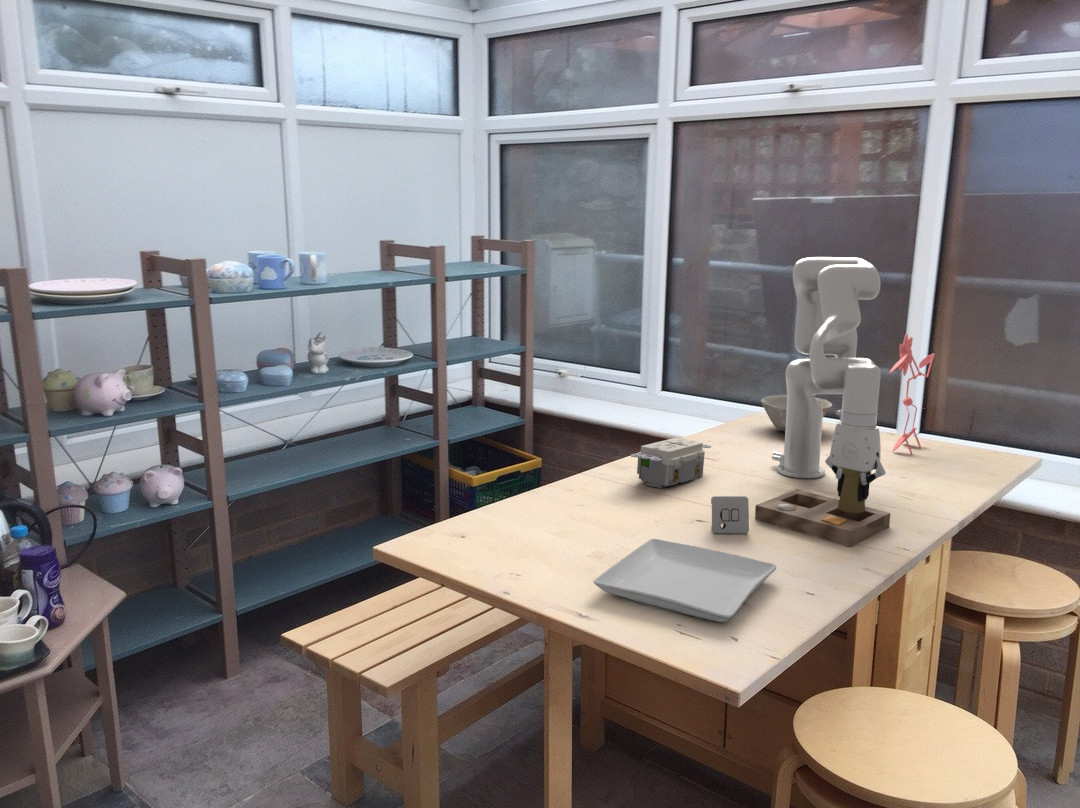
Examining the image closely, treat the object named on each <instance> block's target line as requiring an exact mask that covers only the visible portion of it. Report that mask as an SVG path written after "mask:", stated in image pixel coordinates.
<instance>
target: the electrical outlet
mask: <svg viewBox="0 0 1080 808" xmlns="http://www.w3.org/2000/svg"><path fill="white" fill-rule="evenodd" d="M710 448H712V446H711V445H710V444H704V443H703V442H700V441H695V440H689V439H685V438H679V437H672V438H669V439H665V440H661V441H656V442H653V443H649V444H644V445H641V446H640V451H639V452H638V453H631V454H630V455H629V456H630V457H631V458H637V464H636V465H637V467H636V469H637V471H636V474H637V475H638V480H640V481H642V482H645V483H646V485H647V486H649V487H654V488H658V489H662V488H667V487H669V486H673V485H677V484H679V483H685V482H688V481H692V480H695V479H696V478H698V477H703V476H704V465H705V464H704V463H705V450H704V449H710Z"/></svg>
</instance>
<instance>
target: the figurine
mask: <svg viewBox="0 0 1080 808" xmlns="http://www.w3.org/2000/svg"><path fill="white" fill-rule="evenodd" d="M903 338H904V339H903V343H899V352H898V353H899V360H898V361H897V362H896V363H895V364H894V365H893V366H892V367H891V369H890V371H889V372H888V373H889V374H891V373H893V372H894V371H895V370H897V369H898V370H899V372H901V371H902V375H903V376H906V375H907V372H908V370H909V369H910V370H911V374H912V377H910V378H908V380H907V381H906V394H905V395H906V396H905V397H904V398H903V400H902V403H903V405H904V406H905V408H906V411H907V419H906V422H905V427H904V430H903V434H902V435H901V436H900V437H899V438H898V439H897V441H896V443H895V444H894V446H893V448H892V452H895V451H896V450H897V449H899V447H900V446H901V445H902V444H903V443H906V446H907V448H908V450H909V451H908V452H910V453H909V454H910V455H913V451H912V449H911V445H910V444H909V441H908V439H910V437H911V436H912V435H913V434H914V435H913V436H914V437H915V440H916V443H917V445H918V447H919V448H922V445H921V442H920V441H919V438H918V436H917V433H916V430H917V427H915V421H916V417H917V411H918V407H917V406H916V405H915V404H913V399H912V398H911V397H909V388H910V387H909V386H910V381H911V380H916V379H917V378H918V377H919V376H923V377H926V378H929V375H930V372H931V368H932V365H933V361H934V359H935V356H936V354H935V353H931V354H928V355H927V356H926V357H924V358H922V360H920V362H919V363H918V365H917V362H916V361H915V359H914V356H913V351H912V346H913V337H912V336H910V337H909V334H908V333H906V334H905V335H904V337H903ZM912 363H913V364H914V366H915V369H916V371H917V374H915V371H914V369H913V365H912ZM927 365H928V369H927V373H926V374H924V373H923V372H921V371H920V369H922V368H924V367H925V366H927ZM910 406H912V407H914V408H915V411H914V415H913V423H912V428H911V430H910V431H909V432H908V433H907V432H906V431H907V426H908V422H909V420H910V411H909V408H908V407H910ZM923 443H924V444H930V443H929V442H925V441H924V442H923Z"/></svg>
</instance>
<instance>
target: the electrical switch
mask: <svg viewBox="0 0 1080 808" xmlns="http://www.w3.org/2000/svg"><path fill="white" fill-rule="evenodd" d="M710 504H711V527H710V529H711V533H713V534H748V533H749V531H750V521H749V519H750V517H749V513H750V512H749V507H750V506H749V505H750V504H749V497H747V496H746V495H744V496H743V495H741V496H739V495H738V496H737V495H732V496H731V495H729V496H728V495H727V496H726V495H724V496H723V495H716V496H715V495H713V496H712V497H711V498H710ZM722 524H723V526H722Z"/></svg>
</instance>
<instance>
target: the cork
mask: <svg viewBox="0 0 1080 808" xmlns="http://www.w3.org/2000/svg"><path fill="white" fill-rule="evenodd" d="M842 471H843V474H844V475H845V476H844V481H843V485H842V490H841V494H840V497H839V499H838V500H839V503H838V509H839V510H841V511H844V512H849V513H862V512H864V511H865V506H866V500H864V501H862V502H859V501H858V487H859V484H861V472H857V471H853V470H849V469H844V468H843V469H842Z"/></svg>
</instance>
